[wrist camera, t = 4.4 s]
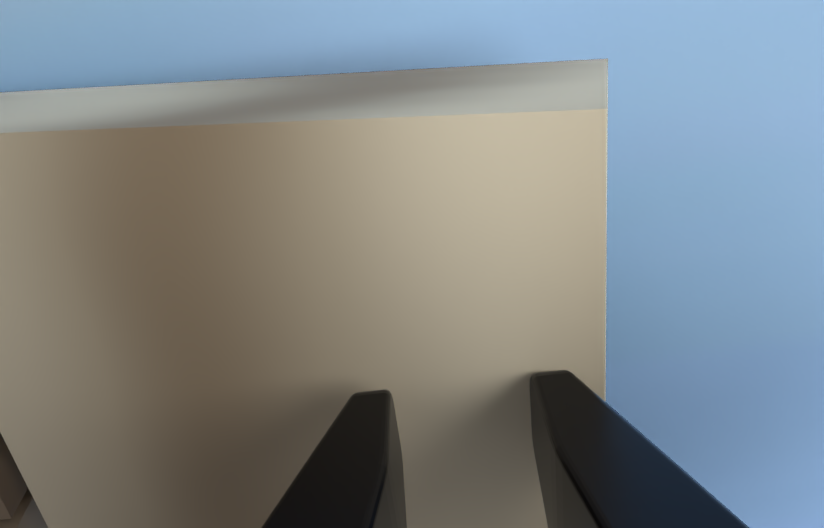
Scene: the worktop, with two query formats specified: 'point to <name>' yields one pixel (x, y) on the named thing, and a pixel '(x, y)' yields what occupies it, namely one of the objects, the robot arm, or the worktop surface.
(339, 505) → the robot arm
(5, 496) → the cardboard box
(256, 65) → the worktop surface
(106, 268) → the oak plank
